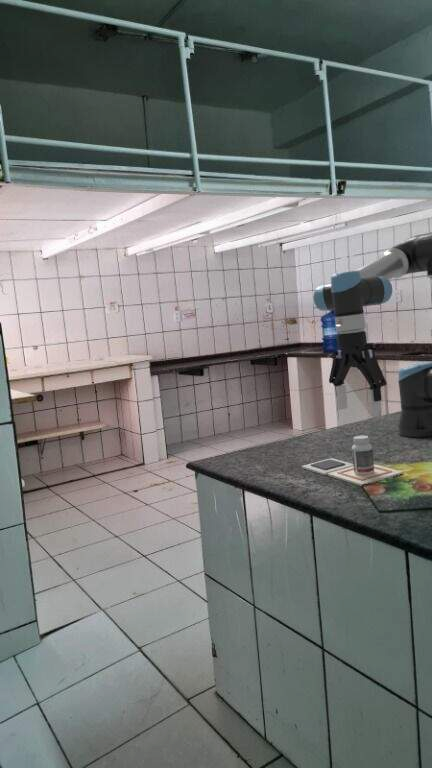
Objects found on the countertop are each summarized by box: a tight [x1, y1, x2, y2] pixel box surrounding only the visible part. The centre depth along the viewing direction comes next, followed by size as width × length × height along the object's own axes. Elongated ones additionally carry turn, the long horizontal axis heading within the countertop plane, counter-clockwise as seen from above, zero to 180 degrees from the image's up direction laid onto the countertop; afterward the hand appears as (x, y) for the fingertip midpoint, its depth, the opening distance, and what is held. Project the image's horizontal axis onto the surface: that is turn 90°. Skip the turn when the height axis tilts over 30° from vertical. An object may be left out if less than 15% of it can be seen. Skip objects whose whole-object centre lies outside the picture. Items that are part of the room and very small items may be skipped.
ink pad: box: [300, 457, 353, 476], centre depth 163 cm, size 11×11×1 cm
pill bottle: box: [351, 435, 374, 475], centre depth 151 cm, size 5×5×10 cm
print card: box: [327, 464, 404, 487], centre depth 152 cm, size 14×14×1 cm
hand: (359, 411), depth 150 cm, fingers open, 13 cm apart
